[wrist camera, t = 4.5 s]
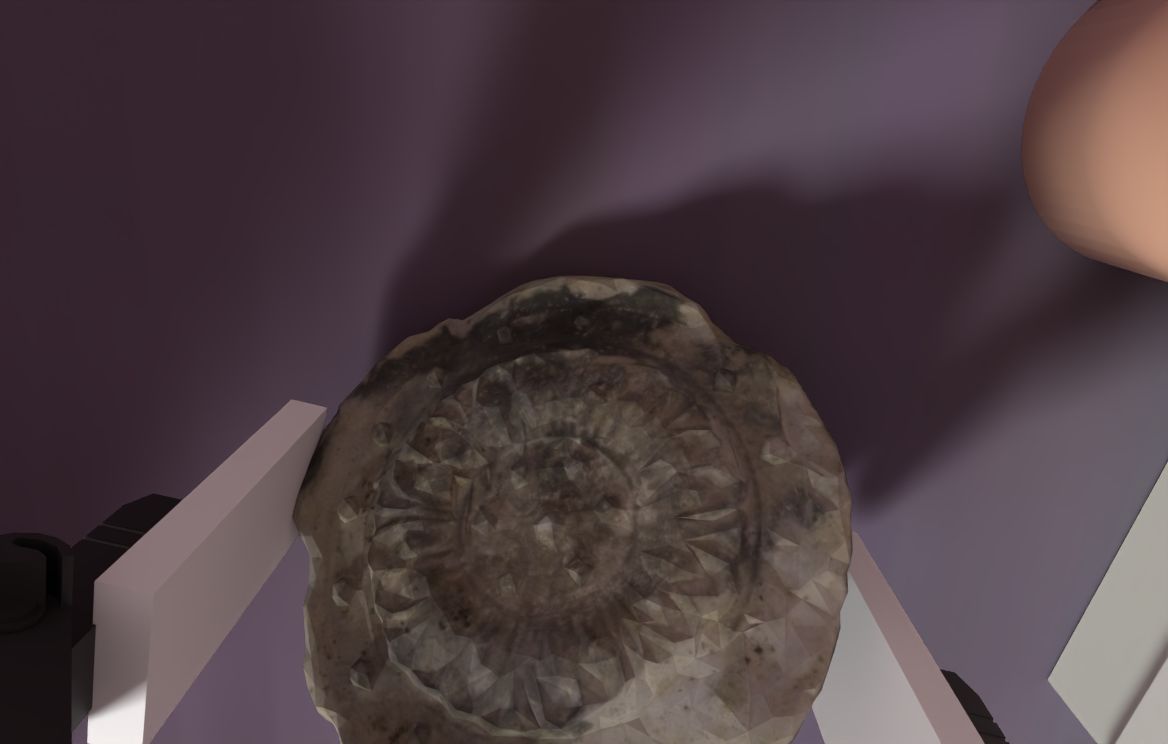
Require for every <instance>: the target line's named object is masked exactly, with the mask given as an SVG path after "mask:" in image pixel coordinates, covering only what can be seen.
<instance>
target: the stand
mask: <svg viewBox="0 0 1168 744" xmlns="http://www.w3.org/2000/svg"><path fill="white" fill-rule="evenodd" d="M1048 681H1049V682H1050V684H1051V685H1052V686H1053V688H1054V689H1055V690H1056V691H1057V693H1058V694H1059V695H1060V696H1061V698H1062V699H1063V700H1064V702H1065V703H1066V704H1067V705H1068V707H1069V708H1070V709H1071V711H1072V712H1073V713H1074V714H1075V716H1076V717H1077V718H1078V719H1079V721H1080V722H1081V723H1082V725H1083V726H1084V727H1085V728H1086V730H1087V731H1088V732H1089V734H1090V735H1091V736H1092V737H1093V739H1094V740H1095V741H1096V742H1097V744H1168V462H1167V464H1166V466H1165V468H1164V469H1163V471H1162V473H1161V475H1160V477H1159V479H1158V480H1157V482H1156V484H1155V486H1154V488H1153V489H1152V491H1151V493H1150V495H1149V497H1148V499H1147V500H1146V502H1145V504H1144V506H1143V508H1142V509H1141V511H1140V513H1139V515H1138V517H1137V518H1136V520H1135V522H1134V524H1133V526H1132V528H1131V529H1130V531H1129V533H1128V535H1127V537H1126V538H1125V540H1124V542H1123V544H1122V546H1121V548H1120V549H1119V551H1118V553H1117V555H1116V557H1115V558H1114V560H1113V562H1112V564H1111V566H1110V567H1109V569H1108V571H1107V573H1106V575H1105V577H1104V578H1103V580H1102V582H1101V584H1100V586H1099V587H1098V589H1097V591H1096V593H1095V595H1094V597H1093V598H1092V600H1091V602H1090V604H1089V606H1088V607H1087V609H1086V611H1085V613H1084V615H1083V617H1082V618H1081V620H1080V622H1079V624H1078V626H1077V627H1076V629H1075V631H1074V633H1073V635H1072V636H1071V638H1070V640H1069V642H1068V644H1067V646H1066V647H1065V649H1064V651H1063V653H1062V655H1061V656H1060V658H1059V660H1058V662H1057V664H1056V666H1055V667H1054V669H1053V671H1052V673H1051V675H1050V676H1049V678H1048Z"/></svg>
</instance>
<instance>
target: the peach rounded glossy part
mask: <svg viewBox="0 0 1168 744" xmlns="http://www.w3.org/2000/svg"><path fill="white" fill-rule="evenodd" d="M1022 166H1023V172H1024V178H1025V183H1026V186H1027V189H1028V192H1029V195H1030V198H1031V201H1032V203H1033V205H1034V207H1035V209H1036V211H1037V213H1038V215H1039V216H1040V217H1041V219H1042V220H1043V222H1044V223H1045V224H1046V226H1047V227H1048V229H1049V230H1050V231H1051V232H1052V233H1053V234H1054V235H1055V236H1056V237H1057V238H1058V239H1059V240H1060V241H1062V242H1063V243H1064V244H1066V245H1067V246H1069V247H1070V248H1071V249H1073V250H1074V251H1076V252H1078V253H1080V254H1082V255H1084V256H1086V257H1088V258H1090V259H1093V260H1096V261H1099V262H1102V263H1105V264H1108V265H1111V266H1115V267H1118V268H1121V269H1125V270H1128V271H1131V272H1135V273H1138V274H1141V275H1145V276H1148V277H1151V278H1155V279H1158V280H1161V281H1165V282H1168V0H1100V1H1099V2H1098V3H1097V4H1095V5H1094V6H1093V7H1092V8H1091V9H1089V10H1088V11H1087V12H1086V13H1085V14H1084V15H1083V16H1082V17H1081V18H1080V19H1079V20H1078V21H1077V22H1076V23H1075V24H1074V25H1073V26H1072V27H1071V28H1070V30H1069V31H1068V32H1067V34H1066V35H1065V36H1064V37H1063V39H1062V40H1061V41H1060V42H1059V44H1058V45H1057V46H1056V48H1055V49H1054V51H1053V53H1052V54H1051V56H1050V58H1049V59H1048V61H1047V62H1046V64H1045V66H1044V68H1043V70H1042V72H1041V74H1040V76H1039V78H1038V80H1037V82H1036V84H1035V87H1034V90H1033V92H1032V95H1031V98H1030V101H1029V104H1028V107H1027V112H1026V116H1025V121H1024V125H1023V135H1022Z"/></svg>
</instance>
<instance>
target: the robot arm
mask: <svg viewBox="0 0 1168 744" xmlns="http://www.w3.org/2000/svg"><path fill="white" fill-rule="evenodd" d="M326 414H327V407H322V406H318V405H314V404H310V403H305V402H301V401H297V400H293V399H292V400H290V401H289V402H288V403H287V404H286V405H285V406H284V407H283V408H282V409H281V410H280V411H279V412H277V413H276V414H275V415H274V416H273V417H272V418H271V419H270V420H269V421H268V422H267V423H266V424H264V425H263V426H262V427H261V428H260V429H259V430H258V431H257V432H256V433H255V434H254V435H253V436H251V437H250V438H249V439H248V440H247V441H246V442H245V443H244V444H243V445H242V446H241V447H240V448H238V449H237V450H236V451H235V452H234V453H233V454H232V455H231V456H230V457H229V458H228V459H226V460H225V461H224V462H223V463H222V464H221V465H220V466H219V467H218V468H217V469H216V470H215V471H213V472H212V473H211V474H210V475H209V476H208V477H207V478H206V479H205V480H204V481H203V482H202V483H200V484H199V485H198V486H197V487H196V488H195V489H194V490H193V491H192V492H191V493H190V494H189V495H187V496H186V497H185V498H184V499H183V500H180V499H175V498H171V497H166V496H162V495H157V494H151V495H148V496H146V497H143V498H141V499H138V500H136V501H133V502H131V503H128V504H126V505H123V506H122V507H121V508H120V509H118V510H117V511H116V512H115V513H114V514H112V515H111V516H110V517H109V518H107V519H106V520H105V521H104V522H103V524H102V526H98V527H96V528H95V529H94V530H93V531H92V532H90V533H89V534H88V535H87V536H86V538H85V540H81V541H79V542H78V543H77V544H76V545H74V546H73V547H72V548H71V549H70V546H69V545H68V544H66V543H64V542H63V541H61V540H60V539H58V538H56V537H52V536H48V535H43V534H39V533H11V534H5V535H0V744H72V731H73V730H74V729H75V728H76V727H77V725H78V724H79V723H80V722H81V721H82V720H83V718H84V717H85V716H86V715H87V714H88V713H89V717H88V740H87V743H89V744H149V743H150V742H151V741H152V739H153V738H154V736H155V735H156V734H157V732H158V731H159V730H160V728H161V727H162V725H163V724H164V723H165V721H166V720H167V718H168V717H169V716H170V714H171V713H172V711H173V710H174V709H175V707H176V706H177V704H178V703H179V702H180V700H181V699H182V698H183V696H184V695H185V693H186V692H187V691H188V689H189V688H190V686H191V685H192V684H193V682H194V681H195V679H196V678H197V677H198V675H199V674H200V672H201V671H202V670H203V668H204V667H205V665H206V664H207V663H208V661H209V660H210V659H211V657H212V656H213V654H214V653H215V652H216V650H217V649H218V647H219V646H220V645H221V643H222V642H223V640H224V639H225V638H226V636H227V635H228V633H229V632H230V631H231V629H232V628H233V626H234V625H235V624H236V622H237V621H238V620H239V618H240V617H241V615H242V614H243V613H244V611H245V610H246V608H247V607H248V606H249V604H250V603H251V601H252V600H253V599H254V597H255V596H256V594H257V593H258V592H259V590H260V589H261V587H262V586H263V585H264V583H265V582H266V581H267V579H268V578H269V576H270V575H271V574H272V572H273V571H274V569H275V568H276V567H277V565H278V564H279V562H280V561H281V560H282V558H283V557H284V555H285V554H286V553H287V551H288V550H289V548H290V547H291V546H292V544H293V543H294V542H295V540H296V539H297V537H298V536H299V533H298V530H297V527H296V525H295V522H294V519H293V517H292V515H293V511H294V507H295V503H296V499H297V495H298V493H299V490H300V487H301V484H302V482H303V479H304V477H305V474H306V471H307V469H308V466H309V463H310V461H311V458H312V455H313V453H314V451H315V449H316V447H317V445H318V442H319V439H320V437H321V435H322V433H323V431H324V428H325V421H326ZM852 546H853V552H852V558H851V563H850V566H849V569H848V572H847V576H848V594H847V596H846V599H845V601H844V604H843V606H842V609H841V611H840V625H841V629H840V632H839V636H838V640H837V644H836V647H835V651H834V654H833V657H832V660H831V663H830V666H829V670H828V673H827V676H826V679H825V682H824V685H823V688H822V691H821V692H820V693H819V695H818V696H817V698H816V699H815V701H814V703H813V705H812V708H813V711H814V714H815V717H816V720H817V723H818V725H819V728H820V731H821V734H822V737H823V740H824V743H825V744H1009V742H1005V738H1006V737H1005V736H1004V734H1003V733H1002V731H1001V730H1000V728H999V727H998V725H997V723H994V722H993V717H992V716H991V714H990V713H989V711H988V710H987V708H986V706H985V705H984V703H983V702H982V700H981V699H980V697H979V696H978V694H976V693H975V692H974V691H973V690H972V689H971V688H970V687H969V686H968V685H967V684H966V683H965V682H964V681H963V680H962V679H961V678H960V677H959V676H958V675H957V674H956V673H954V672H950V671H945V670H941V669H939V667H938V666H937V664H936V662H935V661H934V659H933V657H932V656H931V654H930V652H929V651H928V649H927V648H926V646H925V644H924V643H923V641H922V639H921V638H920V636H919V634H918V633H917V631H916V629H915V628H914V626H913V624H912V623H911V621H910V619H909V618H908V616H907V614H906V613H905V611H904V610H903V608H902V606H901V605H900V603H899V601H898V600H897V598H896V596H895V595H894V593H893V591H892V590H891V588H890V586H889V585H888V583H887V581H886V580H885V578H884V576H883V575H882V573H881V572H880V570H879V568H878V567H877V565H876V563H875V562H874V560H873V558H872V557H871V555H870V553H869V552H868V550H867V548H866V547H865V545H864V543H863V542H862V540H861V539H860V537H859V535H858V534H857V532H854V531H852Z"/></svg>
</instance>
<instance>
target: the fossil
mask: <svg viewBox="0 0 1168 744" xmlns="http://www.w3.org/2000/svg"><path fill="white" fill-rule="evenodd" d="M851 510H852V499H851V495H850V491H849V487H848V483H847V479H846V475H845V471H844V467H843V463H842V460H841V457H840V454H839V451H838V448H837V445H836V443H835V442H834V440H833V438H832V436H831V435H830V433H829V431H828V429H827V428H826V426H825V424H824V423H823V421H822V420H821V418H820V416H819V415H818V413H817V411H816V410H815V408H814V407H813V405H812V403H811V402H810V400H809V398H808V397H807V395H806V394H805V392H804V390H803V389H802V387H801V386H800V384H799V382H798V381H797V379H796V377H795V376H794V374H793V373H792V371H791V370H789V369H787V368H786V367H784V366H782V365H781V364H779V363H778V362H777V361H776V360H774V359H773V358H772V357H771V356H769V355H767V354H764V353H762V352H760V351H757V350H755V349H752V348H750V347H747V346H742V345H738V344H736V343H735V342H734V341H732V340H731V339H730V338H729V337H728V336H727V335H726V334H725V333H723V332H722V331H721V330H720V329H719V328H718V327H717V326H716V325H714V324H713V323H712V322H711V320H710V318H709V317H708V315H707V313H706V312H705V311H704V310H703V308H702V307H701V306H700V305H699V304H698V303H696V302H694V301H692V300H690V299H689V298H687V297H685V296H684V295H682V294H681V293H679V292H678V291H677V290H675V289H674V288H673V287H671V286H670V285H667V284H663V283H659V282H656V281H644V280H633V279H624V278H619V277H604V276H576V275H573V276H553V277H548V278H543V279H538V280H534V281H530V282H527V283H524V284H521V285H520V286H518V287H516V288H515V289H513V290H511V291H509V292H508V293H506V294H504V295H503V296H501V297H499V298H498V299H497V300H495V301H494V302H492V303H491V304H489V305H487V306H486V307H484V308H482V309H481V310H479V311H477V312H476V313H474V314H472V315H471V316H469V317H468V318H466V319H464V320H459V319H451V318H449V319H447V320H445V321H443V322H441V323H439V324H438V325H437V326H435V327H434V328H433V329H432V330H430V331H428V332H424V333H420V334H416V335H413V336H409V337H408V338H406V339H405V340H404V341H403V342H401V343H400V344H399V345H398V346H397V347H395V348H394V349H393V350H392V351H391V352H390V353H389V354H387V355H386V356H385V357H384V358H383V359H382V360H381V361H380V362H378V363H377V364H376V365H375V366H374V367H373V369H372V370H371V371H370V372H369V374H368V375H367V376H366V377H365V379H364V380H363V381H362V382H361V383H360V384H359V385H358V386H357V387H356V388H355V389H354V390H353V391H352V392H351V393H350V395H349V396H348V397H347V398H346V399H345V400H344V401H343V402H342V403H341V404H340V405H339V408H338V411H337V413H336V415H335V416H334V418H333V419H332V420H331V422H330V423H329V424H328V426H327V427H326V428H325V430H324V431H323V433H322V435H321V437H320V439H319V442H318V445H317V447H316V449H315V451H314V453H313V455H312V458H311V461H310V463H309V466H308V469H307V471H306V474H305V477H304V479H303V482H302V484H301V487H300V490H299V493H298V495H297V499H296V503H295V507H294V511H293V515H292V517H293V519H294V522H295V525H296V527H297V530H298V533H299V535H300V537H301V538H302V540H303V542H304V543H305V545H306V548H307V550H308V552H309V585H308V589H307V593H306V596H305V600H304V604H303V610H304V625H305V638H306V652H305V657H304V662H303V668H304V673H305V677H306V682H307V687H308V689H309V692H310V694H311V697H312V699H313V701H314V704H315V706H316V708H317V710H318V712H319V713H320V714H321V715H322V716H323V717H324V718H325V719H327V720H328V721H330V722H332V723H333V724H334V726H335V728H336V730H337V732H338V734H339V739H340V744H790V743H791V742H792V741H793V740H794V739H795V737H796V735H797V733H798V731H799V729H800V727H801V726H802V724H803V722H804V720H805V718H806V716H807V715H808V713H809V711H810V709H811V707H812V705H813V703H814V701H815V699H816V698H817V696H818V695H819V693H820V692H821V691H822V688H823V685H824V682H825V679H826V676H827V673H828V670H829V666H830V663H831V660H832V657H833V654H834V651H835V647H836V644H837V640H838V636H839V632H840V629H841V625H840V611H841V609H842V606H843V604H844V601H845V599H846V596H847V594H848V576H847V572H848V569H849V566H850V563H851V558H852V552H853V546H852V530H851Z"/></svg>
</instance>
